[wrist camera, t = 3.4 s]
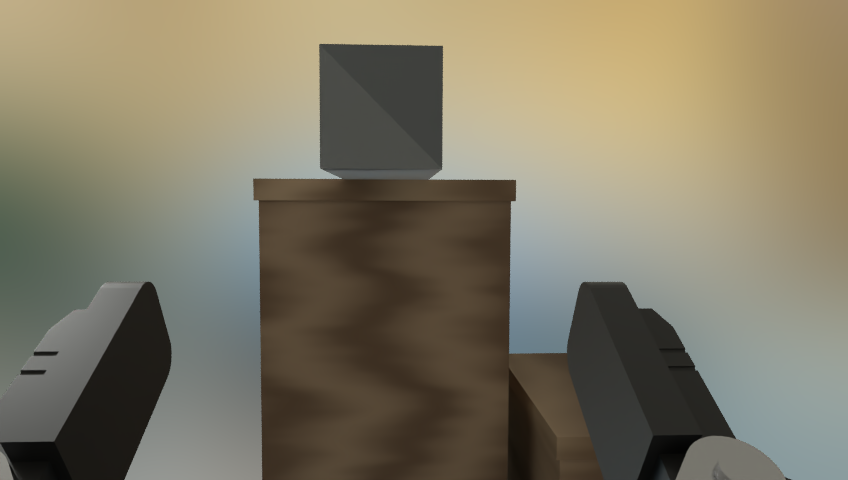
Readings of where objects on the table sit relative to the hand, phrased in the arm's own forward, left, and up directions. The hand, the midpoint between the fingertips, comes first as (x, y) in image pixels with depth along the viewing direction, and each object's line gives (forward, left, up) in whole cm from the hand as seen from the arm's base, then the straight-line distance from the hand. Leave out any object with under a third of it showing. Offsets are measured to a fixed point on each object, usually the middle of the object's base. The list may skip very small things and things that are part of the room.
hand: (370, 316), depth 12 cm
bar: (0, +21, +3) cm, 21 cm away
